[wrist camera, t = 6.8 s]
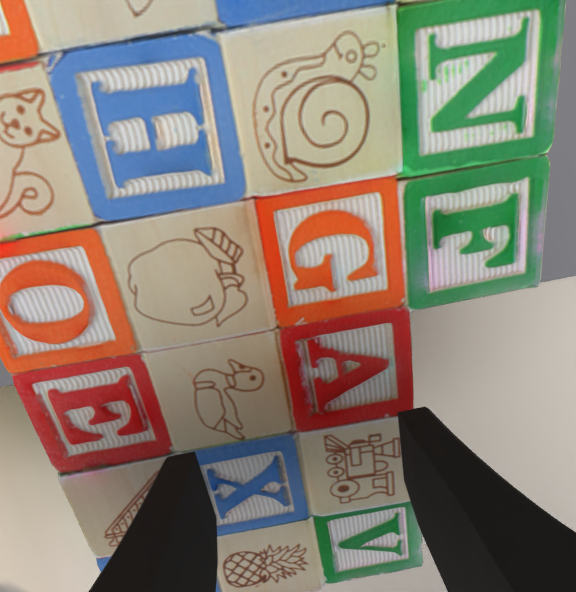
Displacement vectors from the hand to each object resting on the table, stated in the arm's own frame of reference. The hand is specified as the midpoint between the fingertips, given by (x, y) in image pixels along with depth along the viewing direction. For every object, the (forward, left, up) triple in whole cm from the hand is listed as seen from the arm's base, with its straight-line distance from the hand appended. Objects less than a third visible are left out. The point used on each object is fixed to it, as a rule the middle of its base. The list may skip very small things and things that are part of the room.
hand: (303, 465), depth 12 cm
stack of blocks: (+4, +6, -4) cm, 9 cm away
